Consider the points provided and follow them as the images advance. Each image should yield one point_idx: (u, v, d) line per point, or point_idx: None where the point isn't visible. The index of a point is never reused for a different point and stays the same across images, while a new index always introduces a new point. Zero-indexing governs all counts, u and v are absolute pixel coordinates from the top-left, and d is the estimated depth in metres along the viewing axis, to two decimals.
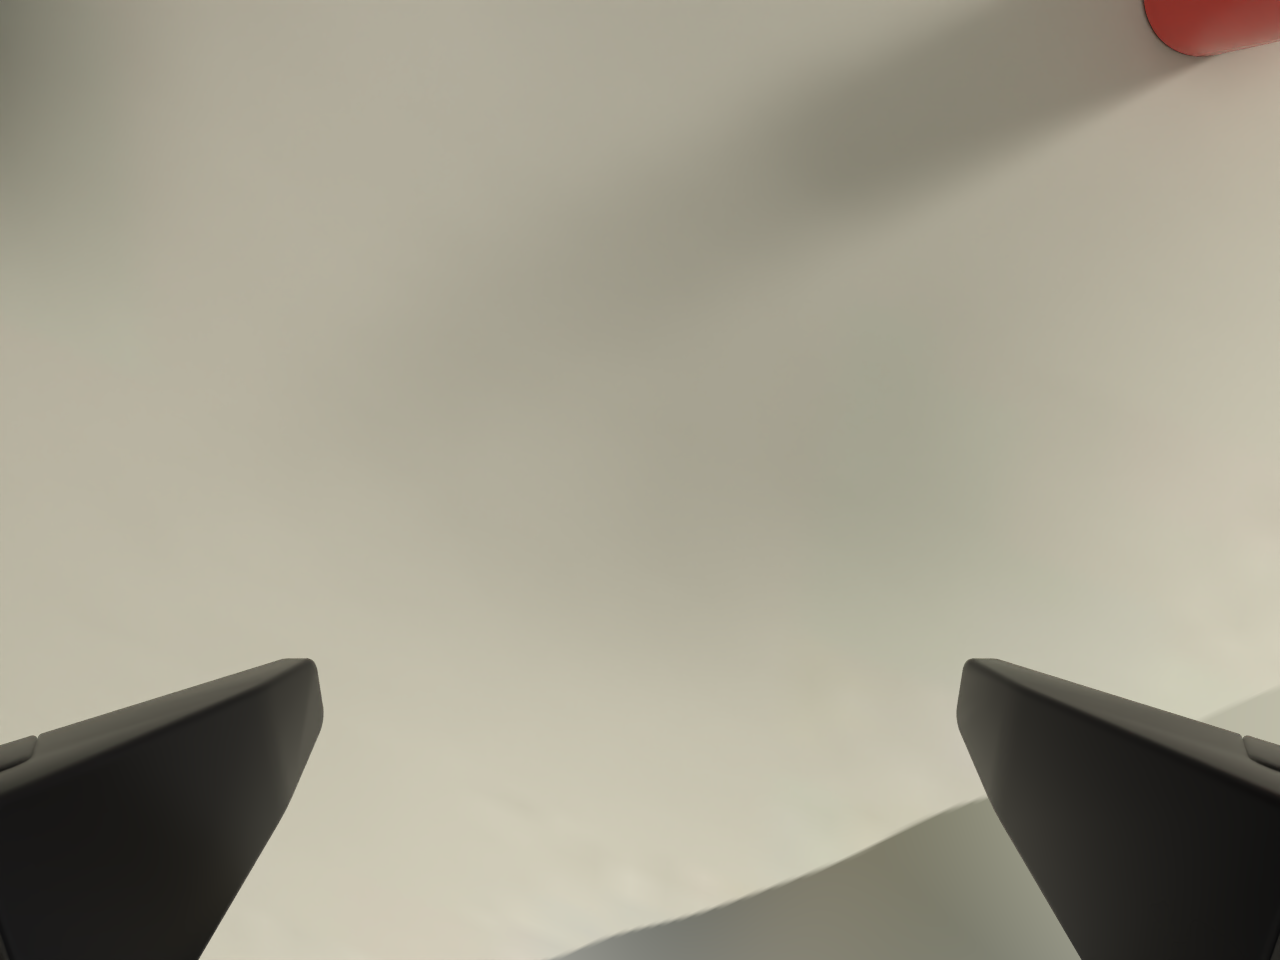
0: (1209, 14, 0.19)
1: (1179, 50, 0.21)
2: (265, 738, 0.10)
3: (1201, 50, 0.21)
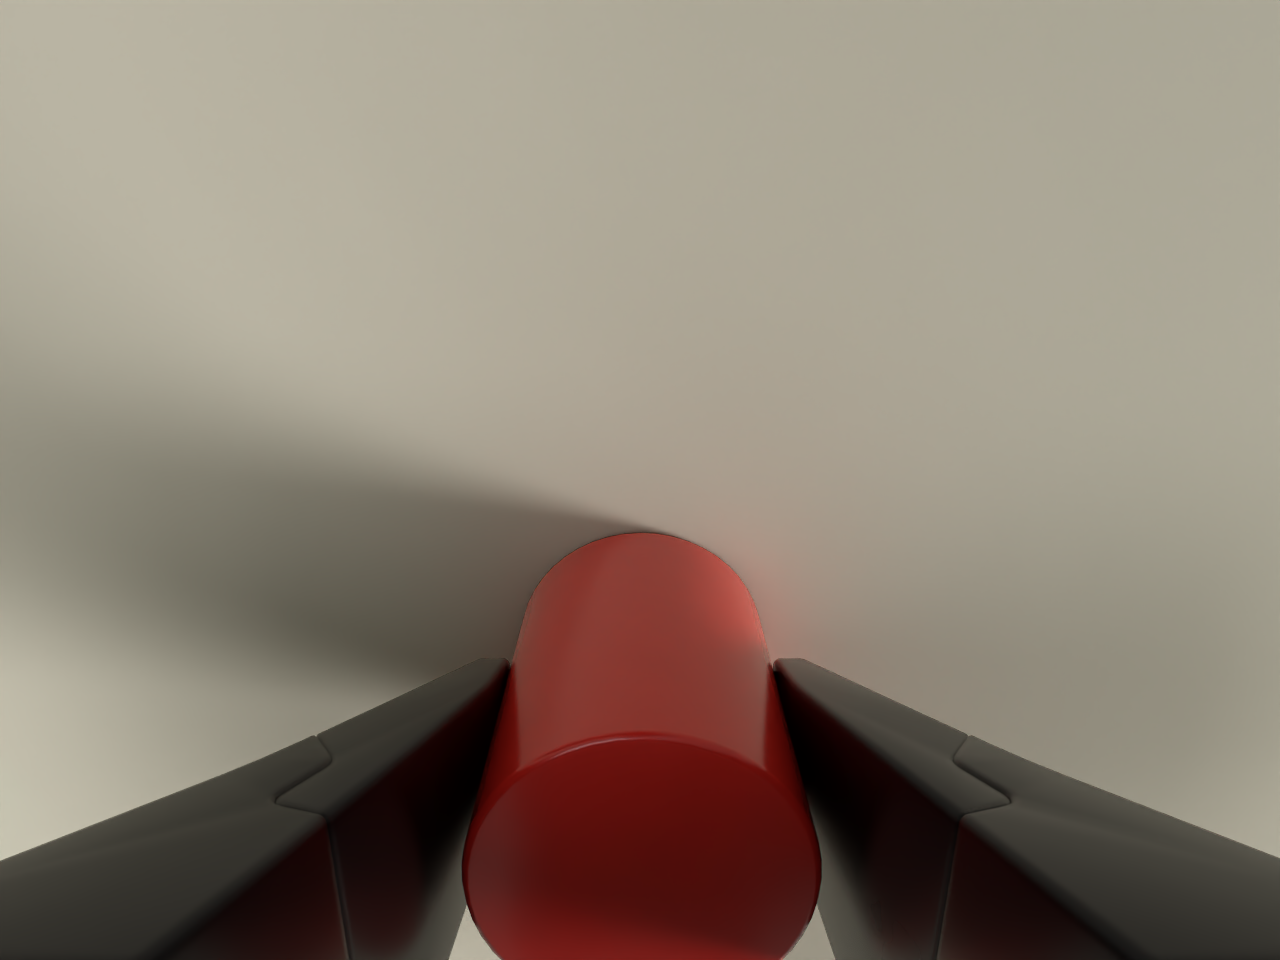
0: None
1: None
2: (488, 738, 0.10)
3: None
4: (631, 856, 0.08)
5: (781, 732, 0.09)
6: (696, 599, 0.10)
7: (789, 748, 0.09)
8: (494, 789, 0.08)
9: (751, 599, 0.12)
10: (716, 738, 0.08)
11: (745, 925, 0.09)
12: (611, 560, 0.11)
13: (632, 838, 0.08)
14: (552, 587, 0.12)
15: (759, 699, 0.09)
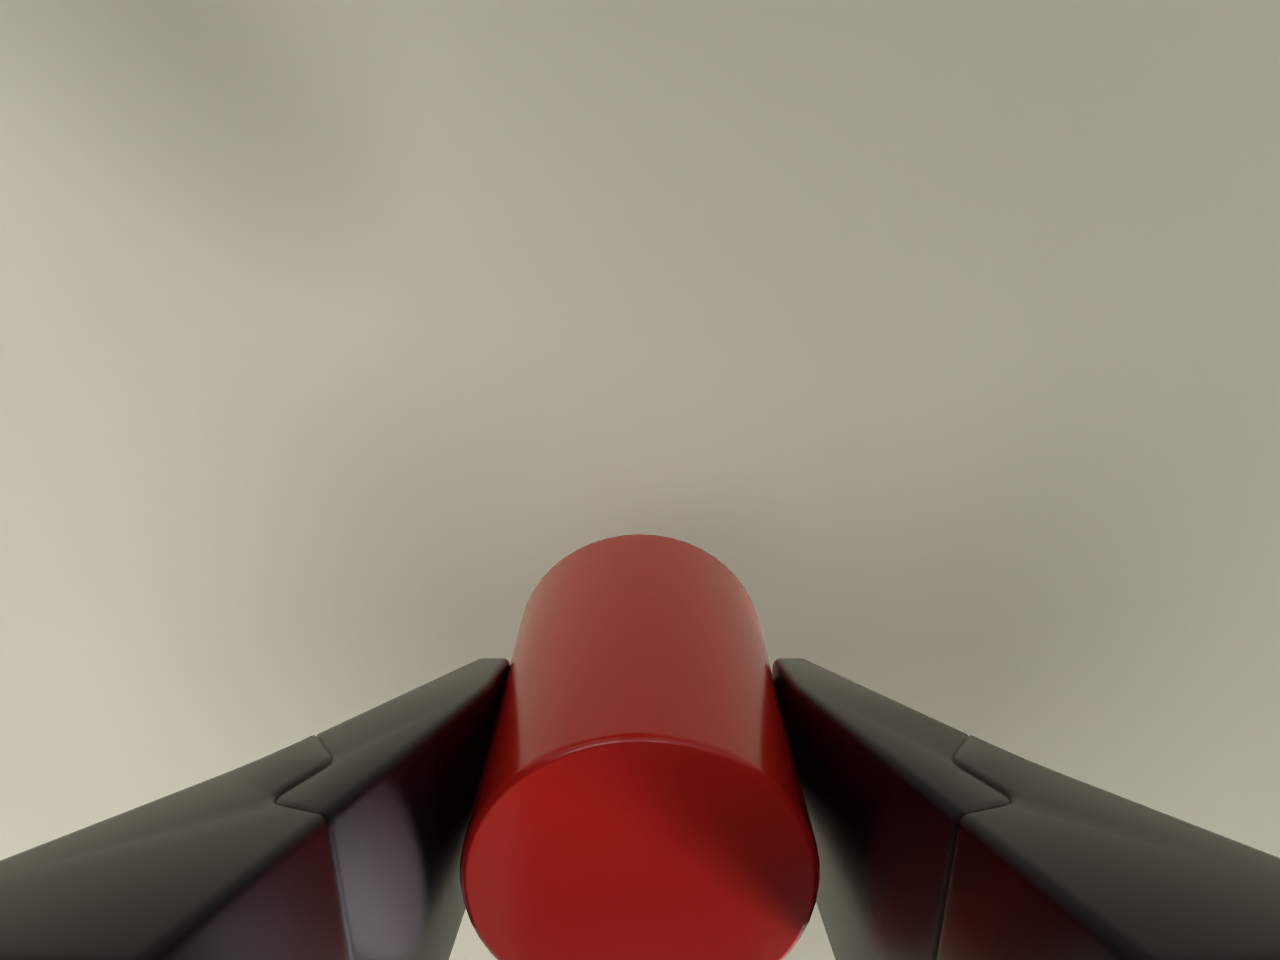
0: None
1: None
2: (488, 738, 0.10)
3: None
4: (629, 859, 0.08)
5: (779, 734, 0.09)
6: (694, 600, 0.10)
7: (787, 750, 0.09)
8: (492, 792, 0.08)
9: (750, 601, 0.12)
10: (713, 739, 0.08)
11: (743, 927, 0.09)
12: (611, 562, 0.11)
13: (630, 839, 0.08)
14: (550, 589, 0.12)
15: (758, 702, 0.09)
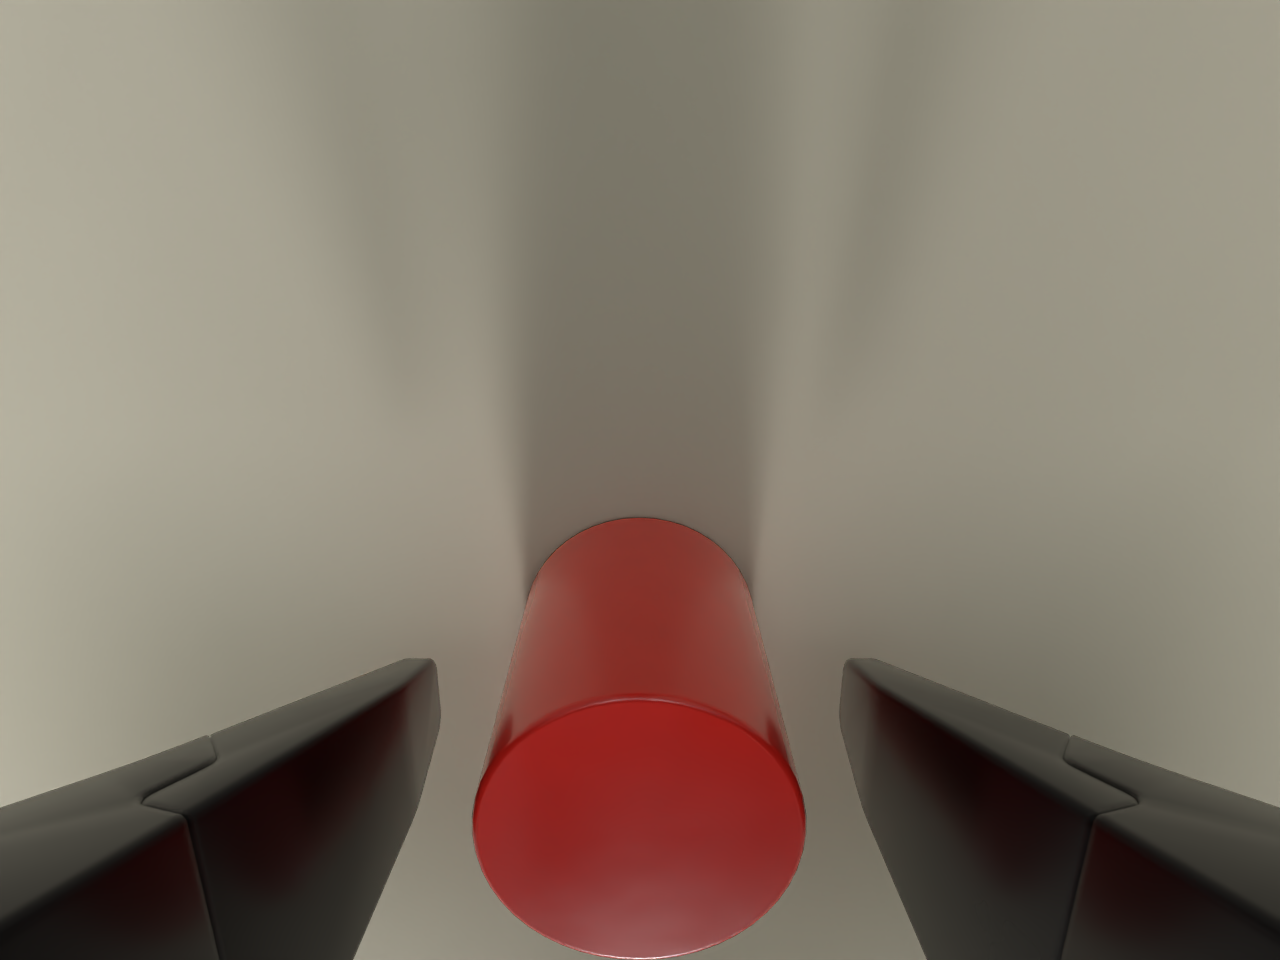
0: None
1: None
2: (403, 738, 0.10)
3: None
4: (630, 810, 0.09)
5: (769, 698, 0.10)
6: (690, 578, 0.11)
7: (776, 713, 0.10)
8: (503, 748, 0.09)
9: (744, 581, 0.13)
10: (708, 699, 0.09)
11: (735, 876, 0.09)
12: (612, 542, 0.12)
13: (630, 792, 0.09)
14: (555, 569, 0.12)
15: (750, 668, 0.10)
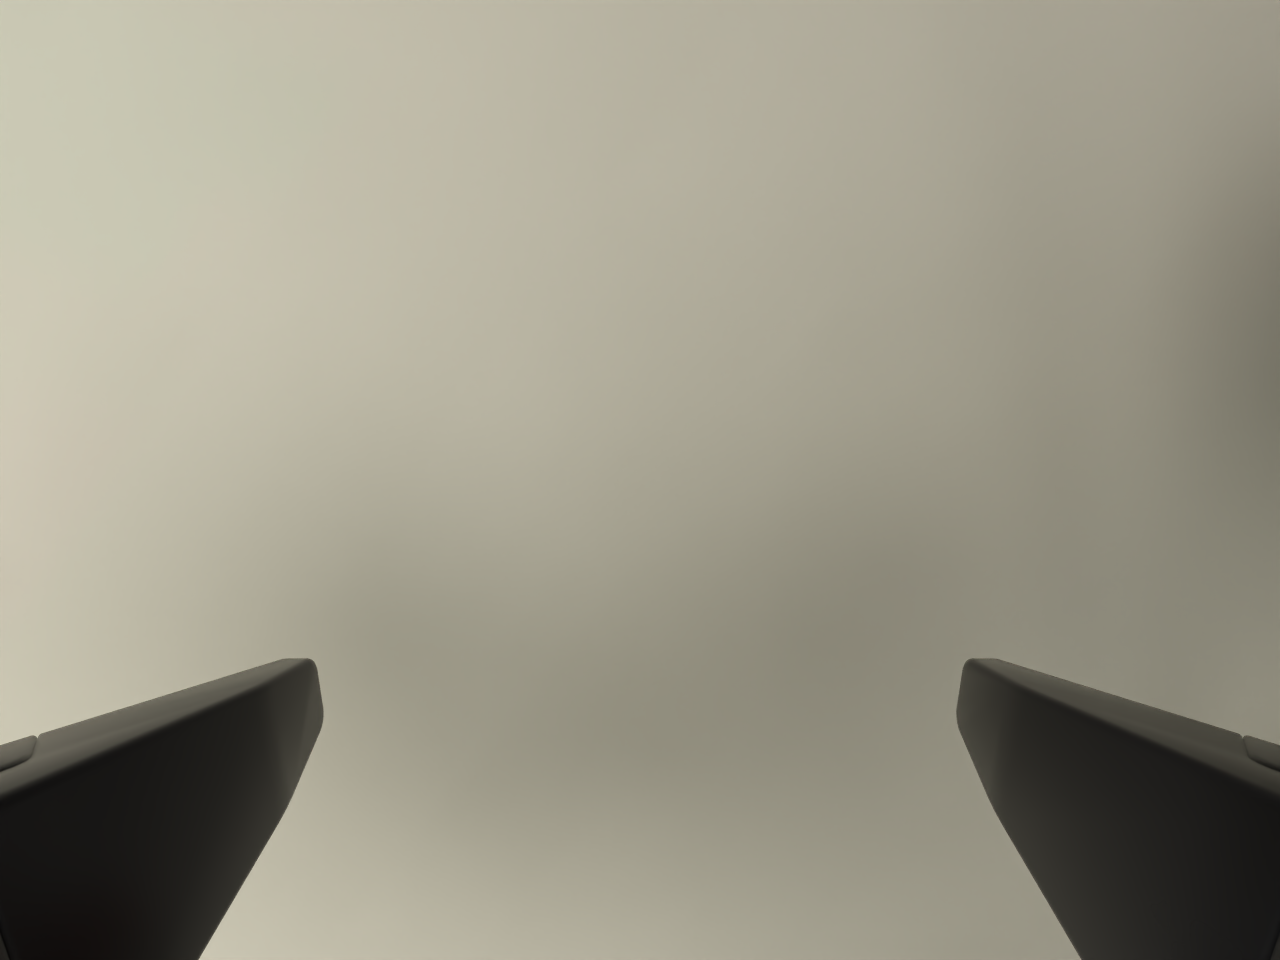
0: None
1: None
2: (265, 738, 0.10)
3: None
4: None
5: None
6: None
7: None
8: None
9: None
10: None
11: None
12: None
13: None
14: None
15: None
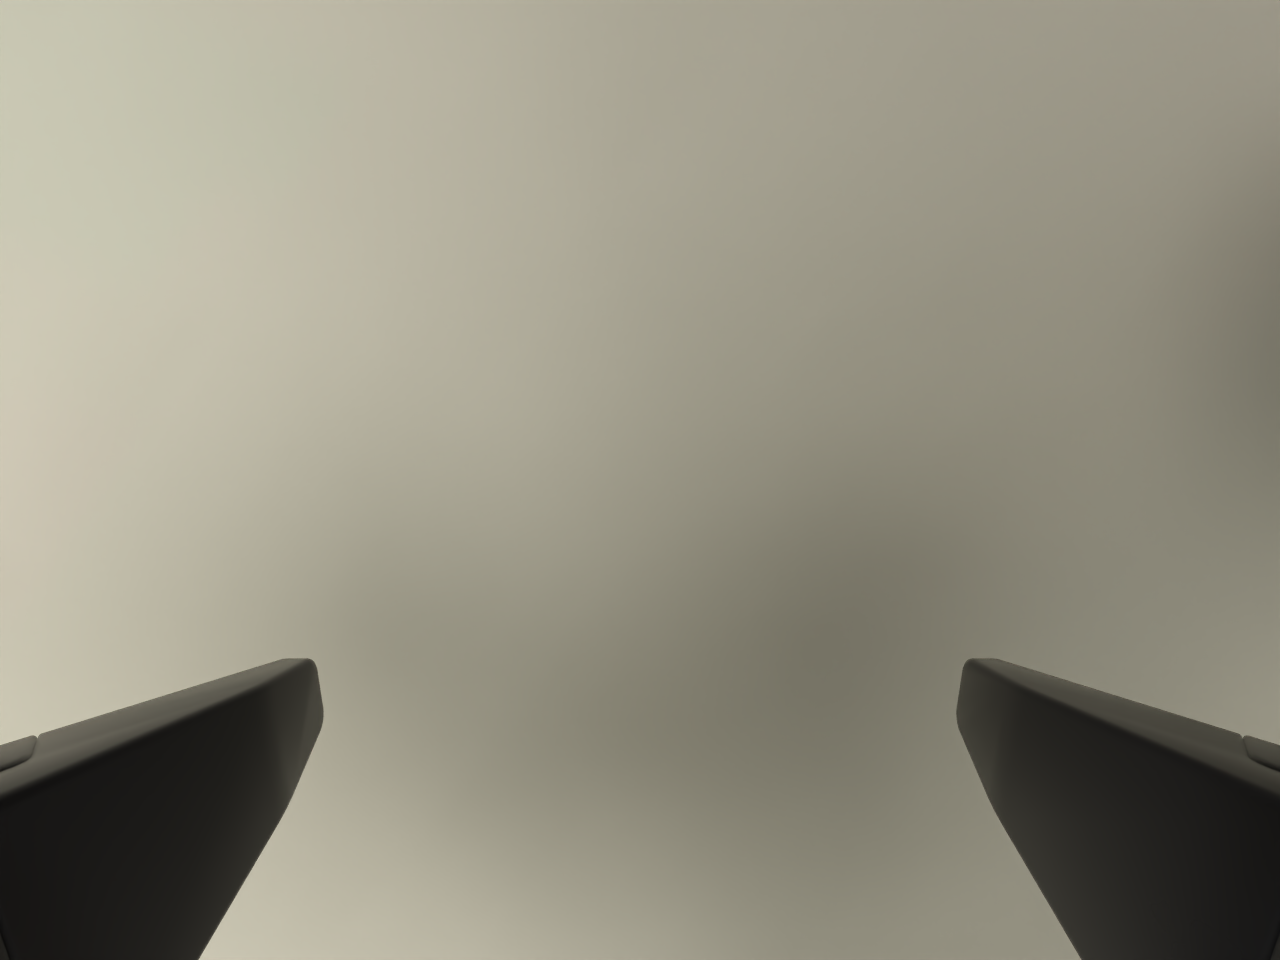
0: None
1: None
2: (265, 738, 0.10)
3: None
4: None
5: None
6: None
7: None
8: None
9: None
10: None
11: None
12: None
13: None
14: None
15: None
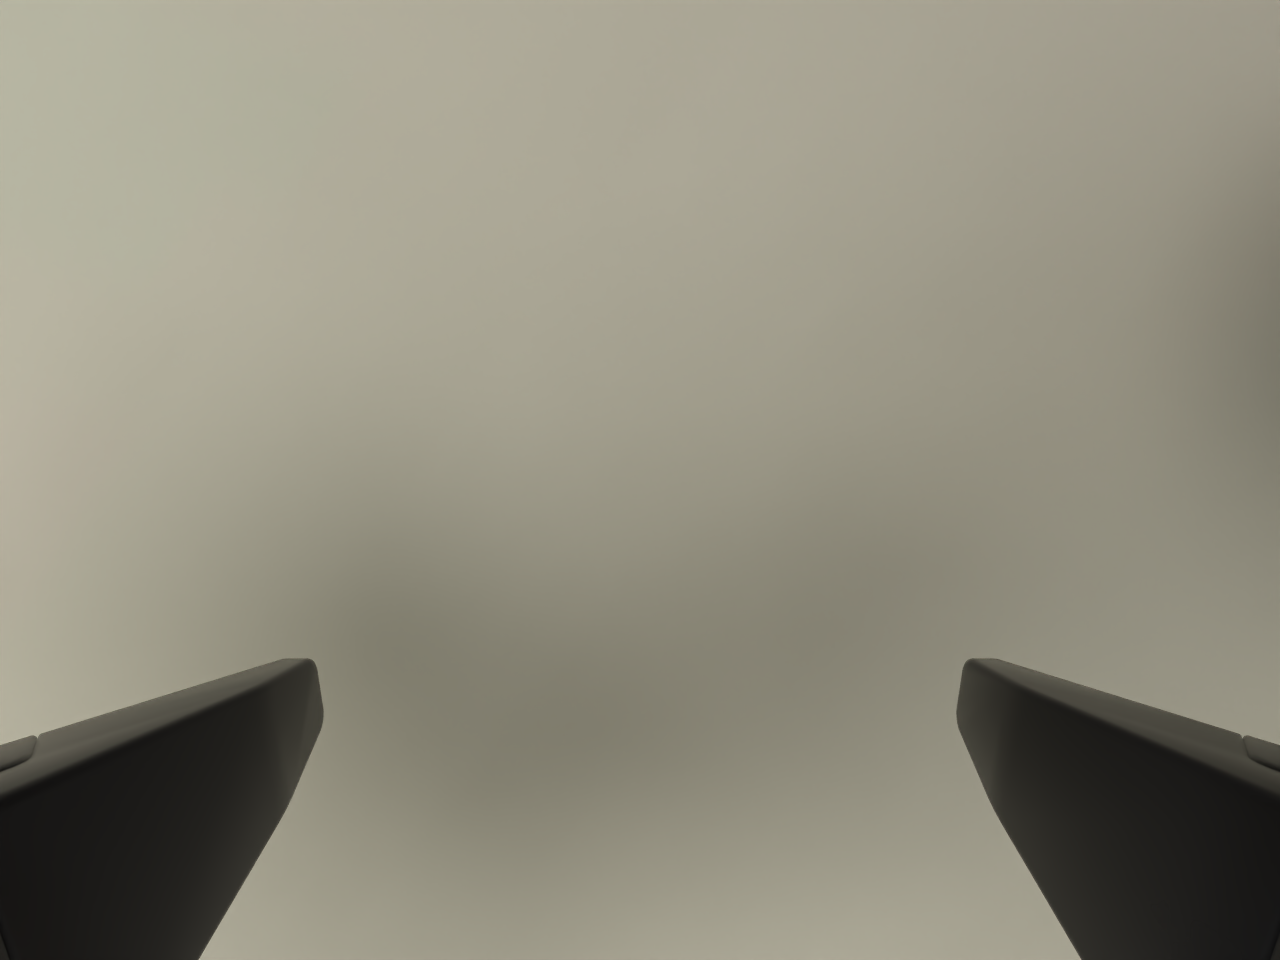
0: None
1: None
2: (265, 738, 0.10)
3: None
4: None
5: None
6: None
7: None
8: None
9: None
10: None
11: None
12: None
13: None
14: None
15: None
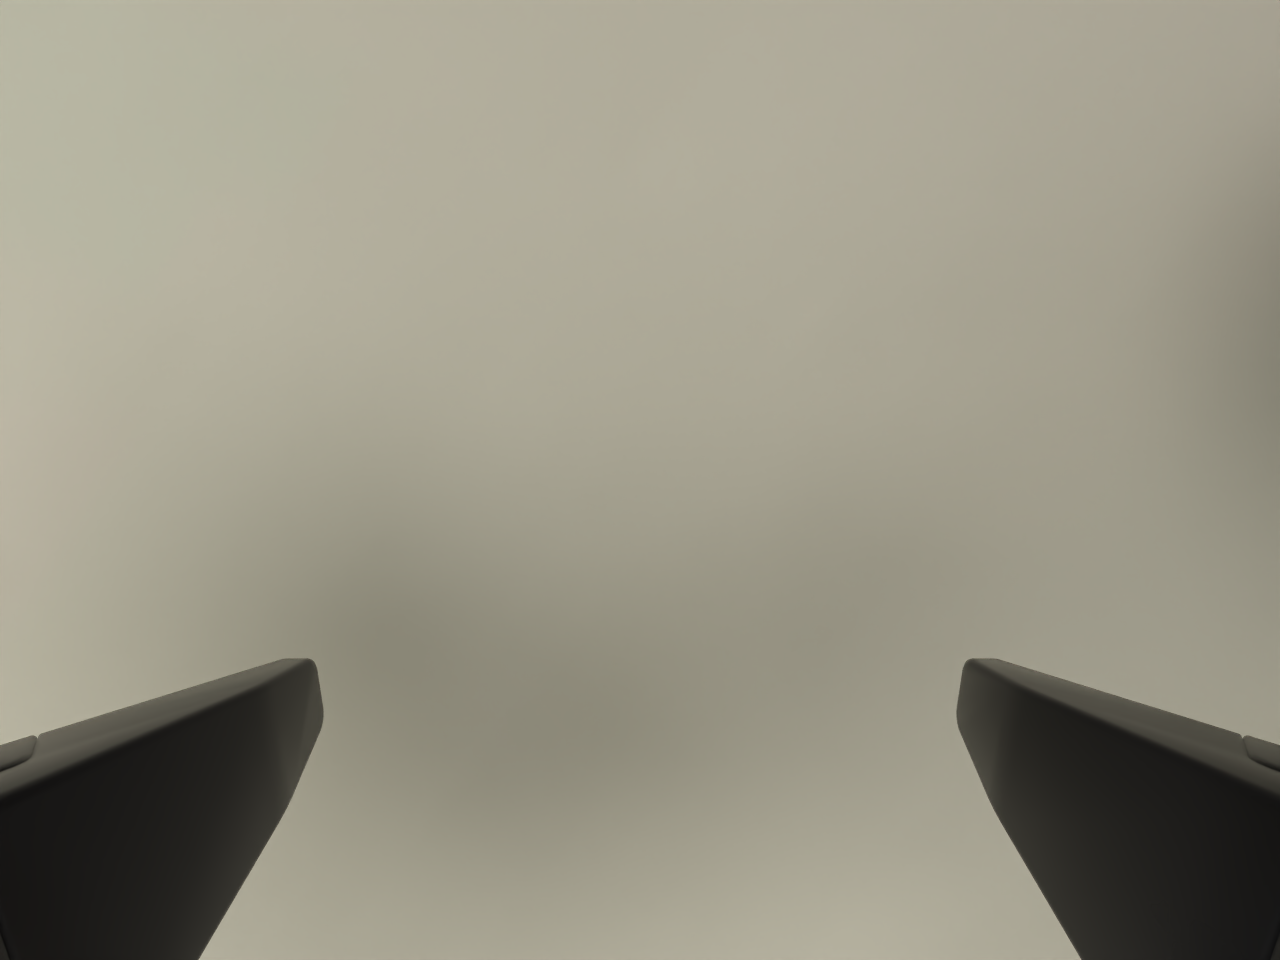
0: None
1: None
2: (265, 738, 0.10)
3: None
4: None
5: None
6: None
7: None
8: None
9: None
10: None
11: None
12: None
13: None
14: None
15: None
